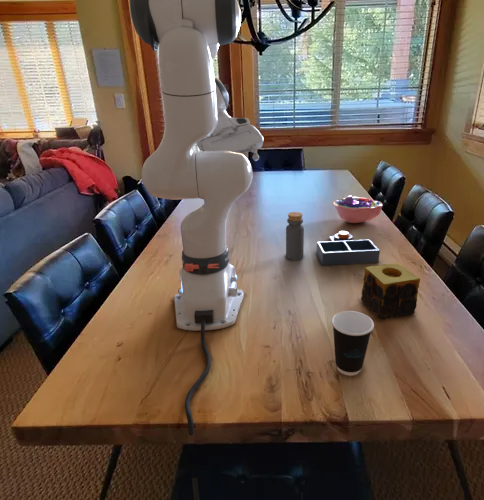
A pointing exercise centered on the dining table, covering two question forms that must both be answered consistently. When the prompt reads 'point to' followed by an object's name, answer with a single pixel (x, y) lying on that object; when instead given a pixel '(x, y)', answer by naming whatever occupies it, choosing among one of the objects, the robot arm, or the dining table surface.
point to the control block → (336, 238)
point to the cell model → (357, 209)
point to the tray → (347, 252)
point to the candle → (390, 290)
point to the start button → (343, 234)
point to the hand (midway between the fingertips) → (244, 163)
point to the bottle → (294, 236)
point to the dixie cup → (351, 340)
